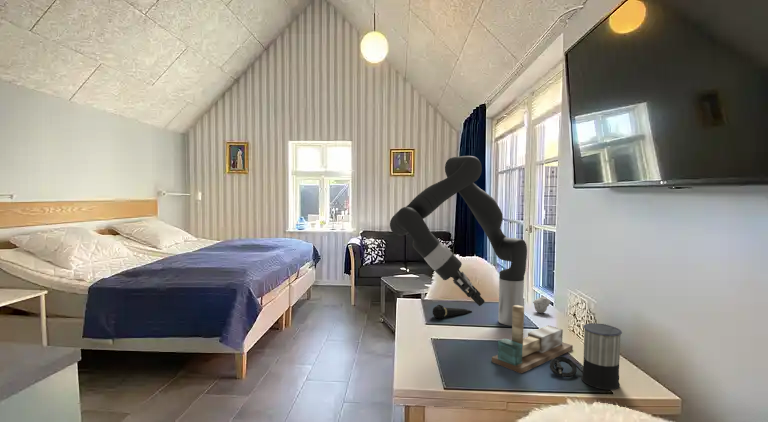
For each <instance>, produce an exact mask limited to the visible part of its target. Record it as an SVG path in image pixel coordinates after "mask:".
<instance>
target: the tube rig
mask: <svg viewBox="0 0 768 422" xmlns="http://www.w3.org/2000/svg"><path fill="white" fill-rule="evenodd" d="M563 332H564V329H562V328H559V327H556V326H552V325H546V326H543V327H540V328H538V329H534V330H532V331H529V332H527V337H529V336H531V335H532V336H535V337H539V338H541V349H540V350H538V351H536V352H533V353H531V354H528V355H526V356H524V357H522V344H520V343H517V342H514V341H512V339H508V338H502V339H499V340H497V354H496V355H493V356H491V363H493V364H495V365H499V366H501V367H504V368H506V369H509V370H511V371H514V372H516V373H518V374H523V373H526V372H527V371H531V370H532V369H534V368H537V367H538V366H540V365H543V364H545V363H547V362H549V361H551V360H552V359H554V358H556V357H561V356H562V355H564V354H567V353H569V352H571V351H573V350H574V348H573V347H574V346H573V344H570V343H566V342H563Z"/></svg>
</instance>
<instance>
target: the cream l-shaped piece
mask: <svg viewBox="0 0 768 422" xmlns="http://www.w3.org/2000/svg"><path fill="white" fill-rule="evenodd" d="M524 323H525V306H524V307H523V306H519V305H514V306H513V312H512V326H511V341H514V342H517V343H520V344H522V357H524V356H526V355H528V354H531V353H533V352H536V351H538V350H540V349H541V338H539V337H535V336H532V335H531V336H529V337H528V336H527V337H524V325H525V324H524Z"/></svg>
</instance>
